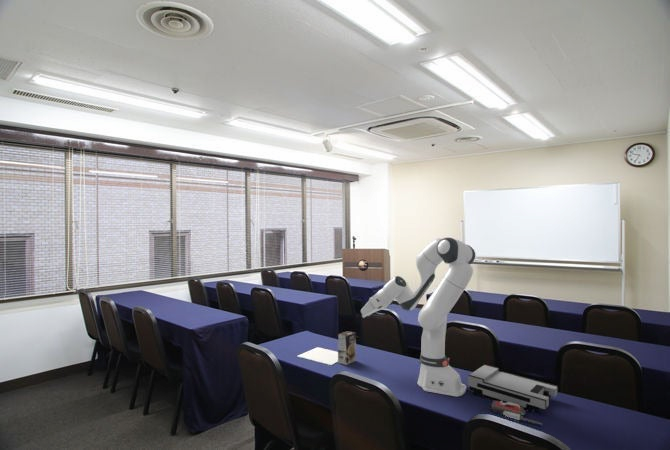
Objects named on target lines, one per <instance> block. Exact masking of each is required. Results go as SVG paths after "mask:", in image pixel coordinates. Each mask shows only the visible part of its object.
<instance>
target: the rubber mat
mask: <svg viewBox="0 0 670 450" xmlns="http://www.w3.org/2000/svg"><path fill="white" fill-rule="evenodd" d="M296 357H297V358H300V359H303V360H304V359H306V360H309V361H313V362H315V363H316V362H317V363H321V364H324V365H328V366H333V365H335V364H336V363H338V351H335V350H332V349H326V348H322V347H320V346H319V347H318V346H317V347H315V348H314V347H313V349H310V350H308V351H305V352H303V353H301V354H298V355H297V356H296Z"/></svg>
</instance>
